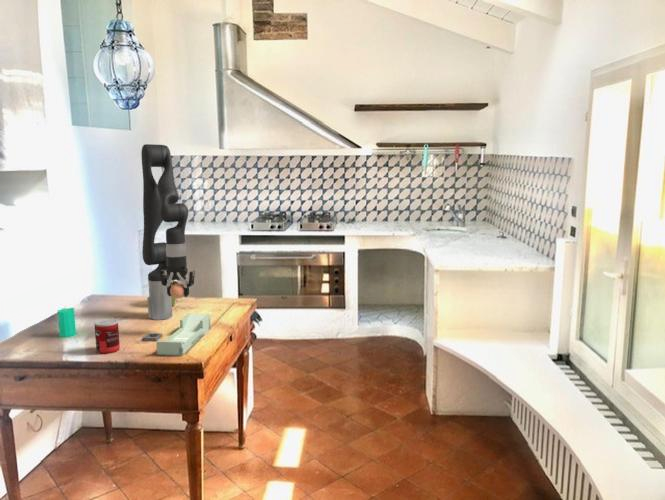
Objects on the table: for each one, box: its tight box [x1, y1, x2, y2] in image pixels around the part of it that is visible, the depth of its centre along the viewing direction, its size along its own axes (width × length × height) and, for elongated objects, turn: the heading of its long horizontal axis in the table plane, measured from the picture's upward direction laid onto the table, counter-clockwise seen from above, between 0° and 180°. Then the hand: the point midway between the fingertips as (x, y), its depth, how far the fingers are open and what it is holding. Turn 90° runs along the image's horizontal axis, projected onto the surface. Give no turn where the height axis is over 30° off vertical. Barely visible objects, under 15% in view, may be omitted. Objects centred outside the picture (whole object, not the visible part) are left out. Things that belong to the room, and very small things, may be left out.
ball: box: [170, 282, 185, 299], centre depth 208 cm, size 6×6×6 cm
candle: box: [57, 305, 77, 339], centre depth 208 cm, size 6×6×12 cm
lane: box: [155, 313, 211, 357], centre depth 202 cm, size 9×32×6 cm, turn 174°
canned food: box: [93, 318, 121, 355], centre depth 191 cm, size 8×8×11 cm
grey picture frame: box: [142, 332, 163, 342], centre depth 205 cm, size 6×6×1 cm
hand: (178, 296), depth 208 cm, fingers closed on ball, 6 cm apart
